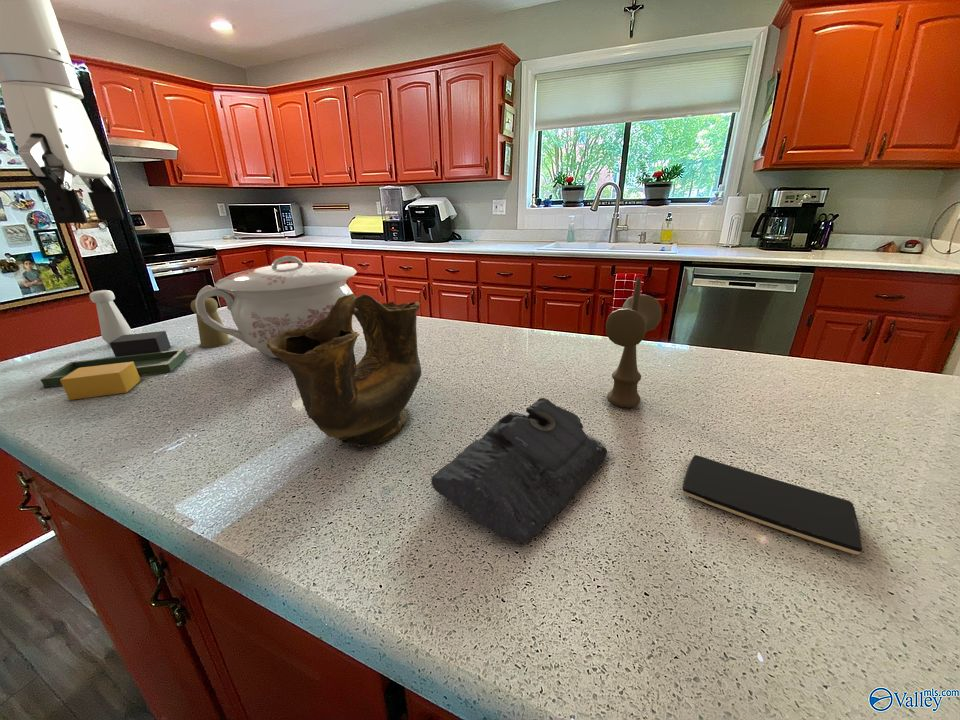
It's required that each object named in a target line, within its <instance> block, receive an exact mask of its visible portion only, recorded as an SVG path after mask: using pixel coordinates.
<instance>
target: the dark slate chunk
mask: <svg viewBox="0 0 960 720" xmlns="http://www.w3.org/2000/svg"><path fill="white" fill-rule="evenodd" d="M525 412H526V413H527V414H528V415H527V414H523V413H519V412H514V411H510V412H509V413H507V414H505V415H504V416H502V417H501V418H500V419H499V420H497V422H495V423H494V424H493V425H492V427H490V428H489V430H488V431H487V432H486V433H485V434H484V435H483V436H482V437H481V438H479V439H475V440H474V441H473V442H471V443H470V444H469V445H468V446H466V447H465V448H464V450H463V451H461V452H460V453H458V454H457V455H456V457H454V459H453V460H451V461H450V462H449V463H446V464H445V465H444V466H443V467H441V468H440V469H438V471H437V472H436V473H435V474H433V475H432V477H431V485H432V488H433V490H434V491H435V492H437V493H438V494H439V495H441V496H443V498H445V499H446V500H448V501H449V502H450V503H451V504H452V506H453V507H457V508H458V509H459V510H461V511H463V512H464V513H467V514H468V515H469V516H470V517H471V518H472V519H473V520H474V521H475V522H476V523H477V524H478V525H480V526H482V527H485V528H486V529H487V530H489V531H491V532H493V533H495V535H497V536H498V537H500V538H502V539H507V540H508V541H511V542H512V541H514V542H520V543H521V544H522V545H526V544H527V543H529V542H530V541H531V539H532V538H534V537H536V536H537V535H538V534H539V533H540V532H541V531H542V530H544V528H545V526H546V525H549V524H550V523H551V521H552V520H553V519H554V518H555V517H556V516H557V515H558V513H560V512H561V511H563V510H564V509H565V508H566V506H567V504H569V502H571V500H572V499H574V498H575V497H576V494H577V493H578V491H580V490H581V488H582V487H583V486H584V485H585V484H586V482H587V481H589V480H590V478H591V476H592V475H593V474H594V472H595V471H597V470H598V469H599V467H600V466H601V465H602V462H603V461H604V460H605V458H606V457H607V454H608V450H607V448H606V447H605V446H603V445H602V444H601V441H598V440H596V439H594V438H590V437H589V436H588V435H587V434H586V432H585V431H584V429H583V428H584V425H583V424H582V422H581V418H580V417H579V416H578V415H577V414H575V413H574V412H572V411H570V410H568V409H566V408H563V407H561V406H558V405H556V404H555V403H553V402H552V401H551V400H550V399H548V398H546V397H539V398H538V399H537V400H536V401H535V402H534V403H532V404H530V405H529V407H527V408H526V409H525Z"/></svg>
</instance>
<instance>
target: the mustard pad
mask: <svg viewBox="0 0 960 720" xmlns="http://www.w3.org/2000/svg"><path fill="white" fill-rule="evenodd" d="M141 380H142V379H141V376H139V374H138V372H137V369H136V367H135V364H134V362H124V363H116V364H107V365H99V366H90V367H81V368H78V369H76V370H75V371H73V372H71V373H70V374H68V375H67V376H65V377H63V378H62V379H60V381H61V383H62V385H61V386H62V387H63V390H64V392H65V394H66V396H67V398H68V400H69V401H72V400H73V401H74V400H81V399H88V398H89V399H90V398H95V397H103V396H111V395H118V394H126V393H128V392H129V391H131V390H132V389H133V388H134V387H135V386H136V385H137V384H139V383H140V382H141Z"/></svg>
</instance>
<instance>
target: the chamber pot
mask: <svg viewBox="0 0 960 720" xmlns="http://www.w3.org/2000/svg"><path fill="white" fill-rule="evenodd" d="M284 262H288V263H284ZM289 262H290V263H289ZM357 273H358V272H357V270H356V269H355V268H354V267H352V266H347V265H343V264H339V263H328V262H303V261H302V259H300V258H298V257H297V256H293V255H284V256H281V257H278V258H275V259H274V260H273V262H272V263H271V265H265V266H260V267H255V268H251V269H245V270H242V271H239V272H234V273H232V274H230V275H227V276H225V277H223V278H220V279H218V280H217V281H216V283H215V284H214V287H213V286H212V285H205V286H204V287H202V288H201V289H200V290H199V291H198V293H197V294H196V297H195V300H196V301H195V305H196V310H197V314H198V315H199V317H200V319H201V320H202V321H203V322H205V323H206V324H208V325H209V326H211V327H212V328H213V329H215V330H217V331H220V332H223V333H226V334H227V335H228V336H232V337H234V338H236V339H238V340H240V341H241V342H243V343H244V344H247V346H249V347H251V348H252V349H253V348H254V349H256V350H257V351H258V352H260V354H262V355H263V356H266V357H269V358H272V359H279V358H278V357H276V356H275V355H274V354H273V353H272V352H271V350H270V348H268V347H267V343H268V341H267V340H268V339H270V338H273V337H275V338H277V337H276V336H278V334H280V333H282V332H285V331H289V330H295V329H298V328H307V327H309V326H311V325H313V324H315V323H317V322H318V321H320V320H321V319H323V318H326V317H327V316H328V315H329V313H330V310H331V308H332V307H333V306H334V305H335V303H336V301H337V300H338V299H339V298H340V297H343V296H347V295H350V294H354V293H353V291H352V290H351V288H350V287H349V286H348V284H347V282H348V281H347V280H348V279H352V278H353V277H354V276H355V275H356V274H357ZM212 297H220V298H223V299H224V301H225V304H226V308H227V310H229V311H230V313H231V317H232V320H233V323H234V324H235V326H236V328H234V327H229V326H226V325H224V324H223V325H221V324H220V323H218V322H217V321H215V320H213V319H212V318H211V317H210V316H209V314H208V313H207V311H206V308H205V299H206V298H212ZM354 321H355V315H354V316H352V324H353V323H354Z"/></svg>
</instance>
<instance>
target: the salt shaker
mask: <svg viewBox="0 0 960 720" xmlns="http://www.w3.org/2000/svg"><path fill="white" fill-rule="evenodd" d="M89 299H90V301H91V302H92V303H94V304H95V306H96V313H97V317H98V322H99V329H100V334H101V338H102V340H103V341H104V342H105V343H107V344H108V345H109V346H110V347H111V345H110V342H112V341H114V340H115V339H117V338H119V337H120V336H122V335H130V334H134V332H133V330H132V328H131V327H130V325H129V323H128V322H127V320H126V318H125V317H124V316H123V314H122V313H121V311H120V309H119V308H118V306H117V305H116V302H114V300H116V296H115V294H114V292H113V291H112V290H107V289H101V290H95V291H92V292H90V293H89Z"/></svg>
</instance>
